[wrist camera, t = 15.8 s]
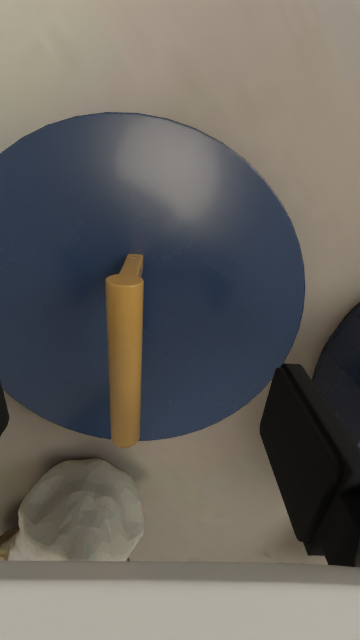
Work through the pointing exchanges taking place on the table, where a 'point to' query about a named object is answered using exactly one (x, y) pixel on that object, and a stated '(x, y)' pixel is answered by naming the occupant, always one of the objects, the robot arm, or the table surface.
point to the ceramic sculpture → (77, 516)
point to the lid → (140, 277)
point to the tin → (342, 373)
